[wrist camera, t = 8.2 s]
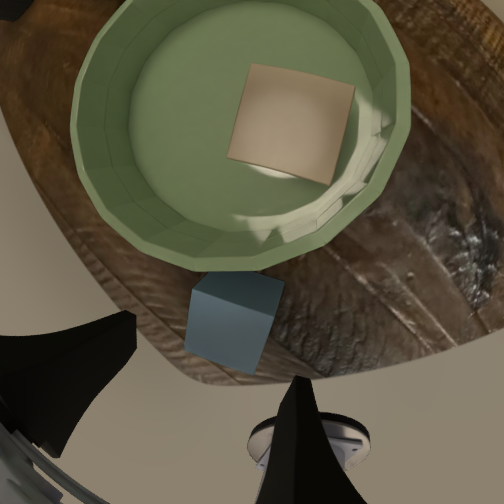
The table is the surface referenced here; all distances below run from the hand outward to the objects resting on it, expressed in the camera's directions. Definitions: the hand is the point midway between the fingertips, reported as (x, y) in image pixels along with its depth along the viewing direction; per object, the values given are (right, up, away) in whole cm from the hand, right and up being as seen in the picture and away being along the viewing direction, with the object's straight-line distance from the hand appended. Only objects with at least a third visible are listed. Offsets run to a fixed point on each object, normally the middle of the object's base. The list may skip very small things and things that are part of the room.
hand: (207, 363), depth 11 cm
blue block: (+1, +2, +6) cm, 6 cm away
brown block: (+4, +11, +2) cm, 11 cm away
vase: (-30, +42, +1) cm, 52 cm away
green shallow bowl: (+1, +13, +3) cm, 13 cm away
